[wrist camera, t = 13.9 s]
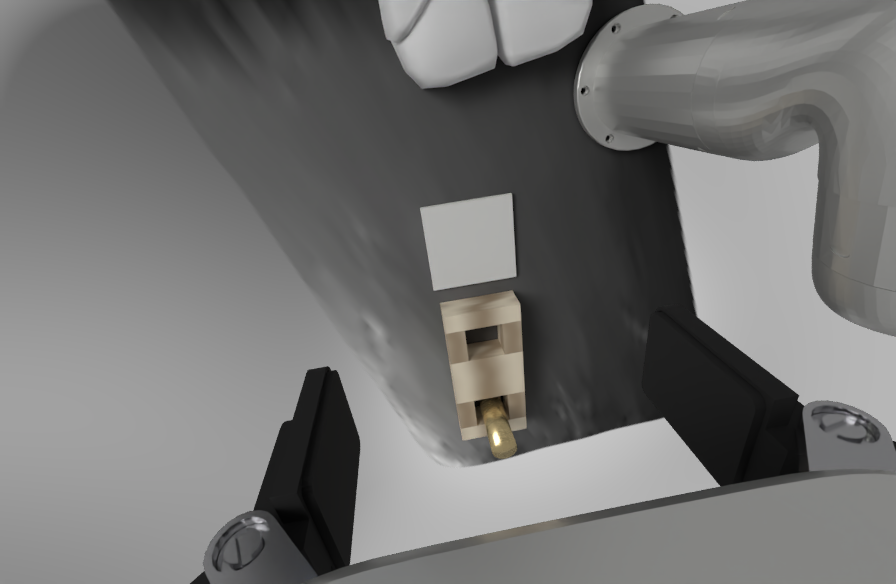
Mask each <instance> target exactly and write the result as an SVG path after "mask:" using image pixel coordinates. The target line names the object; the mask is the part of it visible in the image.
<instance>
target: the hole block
mask: <svg viewBox="0 0 896 584" xmlns="http://www.w3.org/2000/svg"><path fill="white" fill-rule="evenodd" d="M440 306H441V312H442V318H443V325H444V331H445V337H446V343H447V350H448V356H449V362H450V368H451V375H452V381H453V387H454V393H455V400H456V406H457V412H458V418H459V424H460V429H461V434H462V439H463V440H469V439H474V438H479V437H484V436H488V435H487V431H486V427H485V424H484V420H483V416H482V412H481V409H480V406H478V407H475V405H474V401H476V400H482V399H487V398H493V397H498V396H503V401H504V402H502V404H503V407H504V410H505V413H506V416H507V419H508V422H509V425H510V428H511V430H512V431H516V430H521V429H526V428H527V425H526V406H525V386H524V366H523V346H522V327H521V307H520V303H519V301H518V299H517V298H516V296H515V294H514V292H513V291H506V292H500V293H495V294H489V295H483V296H477V297H472V298H466V299H460V300H454V301H449V302H443V303H440ZM494 325H497V330H498V339H494V340H488V341H483V342H477V343H472V344H466V336H465V331H466V330H471V329H477V328H483V327H488V326H494Z"/></svg>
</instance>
